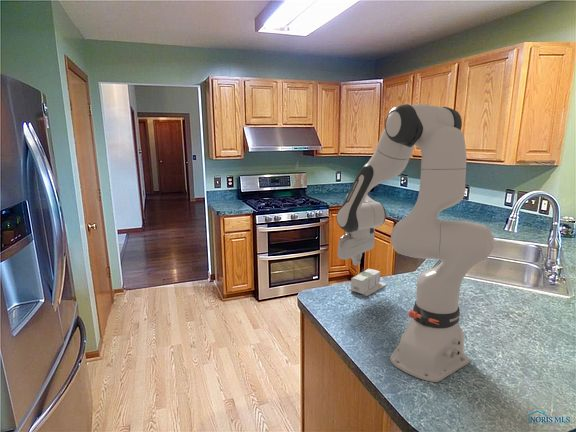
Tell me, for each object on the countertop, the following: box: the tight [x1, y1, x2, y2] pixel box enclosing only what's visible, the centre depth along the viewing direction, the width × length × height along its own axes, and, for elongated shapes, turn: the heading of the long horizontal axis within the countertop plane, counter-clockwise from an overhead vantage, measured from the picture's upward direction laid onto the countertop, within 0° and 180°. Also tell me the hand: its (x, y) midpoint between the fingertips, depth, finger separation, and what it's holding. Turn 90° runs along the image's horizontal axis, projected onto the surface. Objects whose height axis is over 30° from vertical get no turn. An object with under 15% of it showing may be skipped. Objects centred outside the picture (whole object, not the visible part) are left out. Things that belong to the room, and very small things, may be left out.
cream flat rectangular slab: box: [348, 281, 388, 296], centre depth 147 cm, size 15×9×1 cm, turn 133°
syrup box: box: [350, 268, 381, 295], centre depth 145 cm, size 6×6×14 cm
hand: (356, 264), depth 139 cm, fingers closed
